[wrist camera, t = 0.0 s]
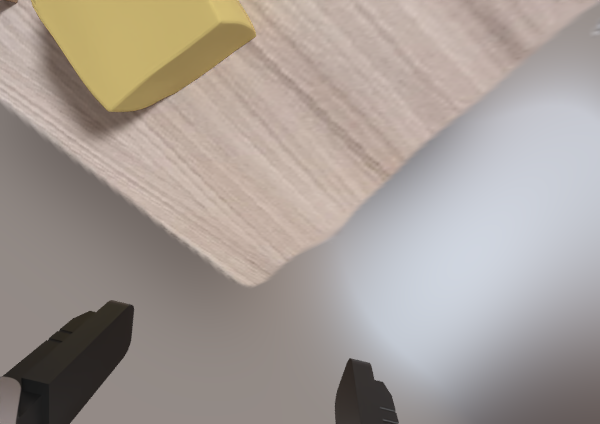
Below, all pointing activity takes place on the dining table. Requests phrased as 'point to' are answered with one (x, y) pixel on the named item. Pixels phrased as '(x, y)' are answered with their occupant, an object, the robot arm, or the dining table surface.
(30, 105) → the dining table surface
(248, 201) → the dining table surface
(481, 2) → the dining table surface
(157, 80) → the cheese
